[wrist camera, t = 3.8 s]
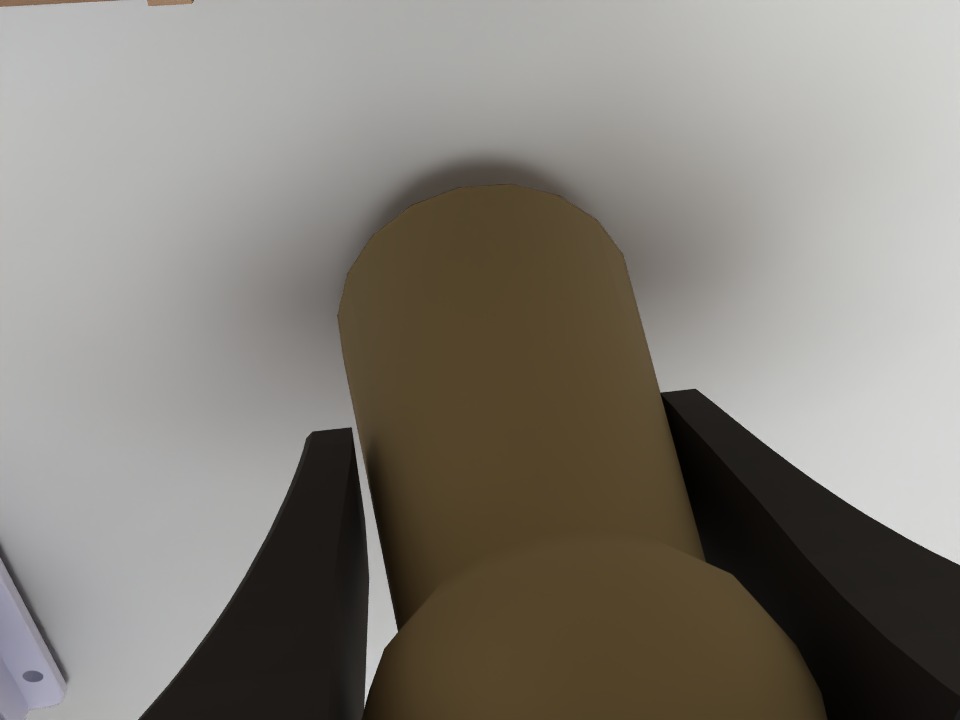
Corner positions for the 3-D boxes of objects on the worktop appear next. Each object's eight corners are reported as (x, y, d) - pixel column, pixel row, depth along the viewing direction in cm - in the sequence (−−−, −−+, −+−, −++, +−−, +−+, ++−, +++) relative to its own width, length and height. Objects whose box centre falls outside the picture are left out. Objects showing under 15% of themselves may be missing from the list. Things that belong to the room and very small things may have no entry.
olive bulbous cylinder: (484, 115, 14) (684, 656, 5) (691, 307, 17) (1053, 875, 8) (275, 341, 16) (168, 1003, 7) (490, 479, 19) (603, 1082, 10)
